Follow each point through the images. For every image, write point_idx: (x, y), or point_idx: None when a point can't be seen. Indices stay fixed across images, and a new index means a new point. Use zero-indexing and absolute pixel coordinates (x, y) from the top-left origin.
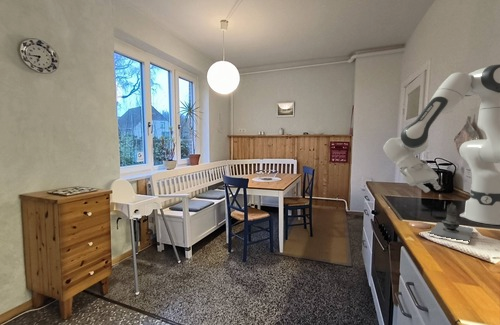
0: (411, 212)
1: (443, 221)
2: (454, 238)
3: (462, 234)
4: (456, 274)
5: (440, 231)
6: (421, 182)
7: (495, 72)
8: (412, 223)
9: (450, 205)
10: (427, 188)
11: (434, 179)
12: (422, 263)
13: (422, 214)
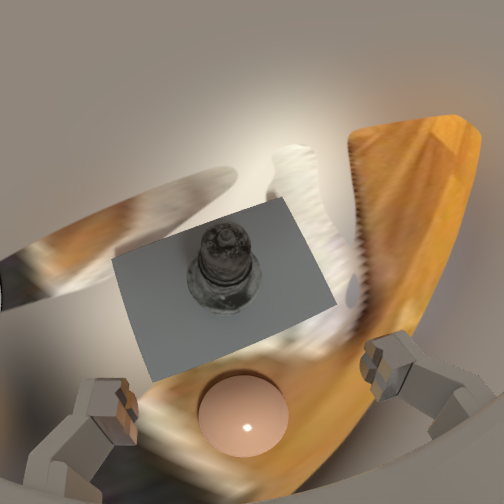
0: None
1: (254, 295)
2: (300, 232)
3: None
4: (438, 158)
5: (280, 296)
6: (473, 404)
7: None
8: (264, 435)
9: (245, 238)
10: (408, 345)
11: (41, 488)
12: (465, 205)
13: None
